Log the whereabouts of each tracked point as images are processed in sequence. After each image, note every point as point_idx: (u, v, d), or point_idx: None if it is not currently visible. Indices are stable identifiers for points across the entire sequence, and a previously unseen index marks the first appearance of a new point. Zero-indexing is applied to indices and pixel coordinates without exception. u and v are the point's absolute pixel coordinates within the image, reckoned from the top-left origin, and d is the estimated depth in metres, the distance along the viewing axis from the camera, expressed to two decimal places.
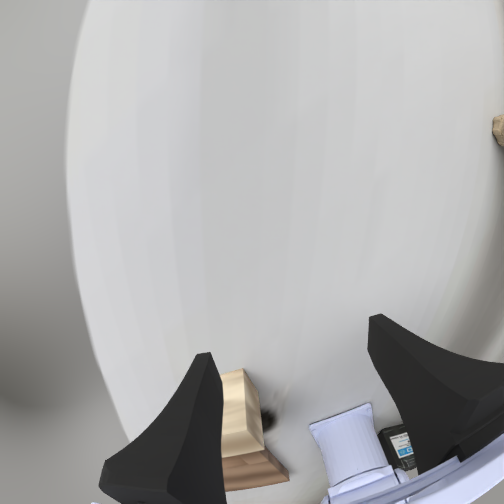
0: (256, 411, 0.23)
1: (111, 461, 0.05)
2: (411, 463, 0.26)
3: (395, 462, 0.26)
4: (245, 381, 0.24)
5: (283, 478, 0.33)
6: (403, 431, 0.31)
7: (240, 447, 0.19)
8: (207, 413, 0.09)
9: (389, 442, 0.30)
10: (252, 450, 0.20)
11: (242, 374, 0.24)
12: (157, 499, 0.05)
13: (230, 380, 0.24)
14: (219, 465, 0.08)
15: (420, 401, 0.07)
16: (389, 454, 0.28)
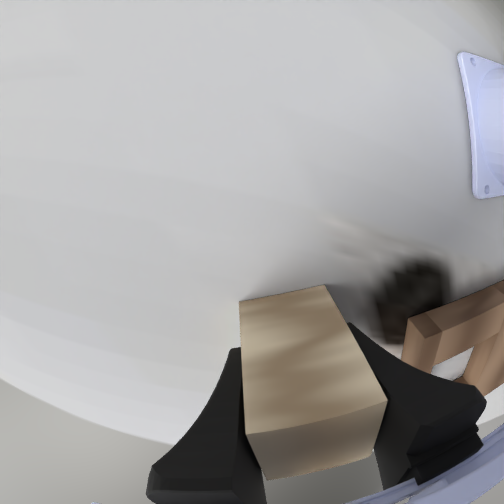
0: (317, 334, 0.10)
1: (159, 466, 0.05)
2: None
3: None
4: (251, 316, 0.12)
5: None
6: None
7: (341, 440, 0.07)
8: None
9: None
10: (373, 421, 0.07)
11: (240, 312, 0.12)
12: (215, 501, 0.05)
13: None
14: None
15: None
16: None
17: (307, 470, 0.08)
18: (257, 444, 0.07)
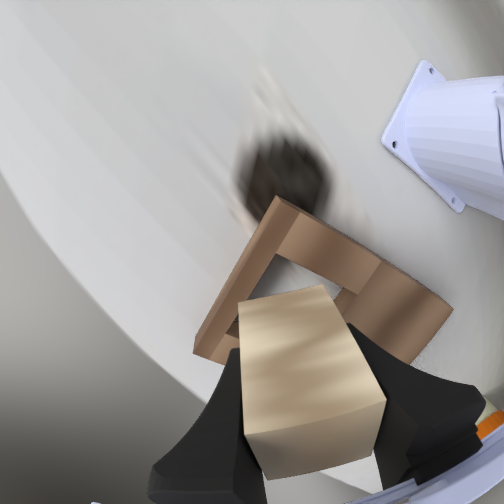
0: (316, 333, 0.10)
1: (160, 466, 0.05)
2: None
3: None
4: (250, 316, 0.12)
5: (441, 307, 0.19)
6: None
7: (340, 440, 0.07)
8: None
9: None
10: (372, 420, 0.07)
11: (239, 313, 0.12)
12: (215, 501, 0.05)
13: None
14: None
15: None
16: None
17: (307, 469, 0.08)
18: (256, 444, 0.07)
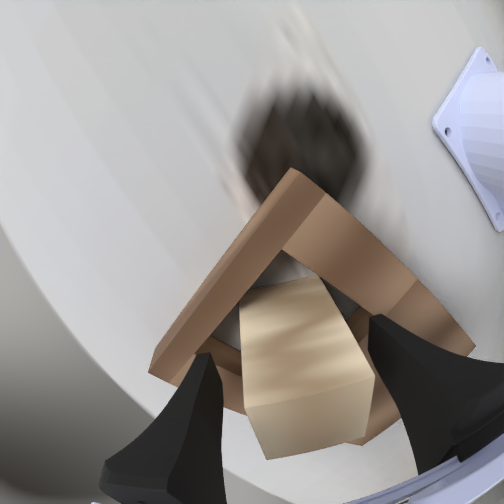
0: (310, 318, 0.11)
1: (111, 461, 0.05)
2: None
3: None
4: (249, 304, 0.13)
5: (465, 342, 0.14)
6: None
7: (334, 417, 0.08)
8: (207, 413, 0.09)
9: None
10: (363, 397, 0.08)
11: (239, 301, 0.13)
12: (157, 499, 0.05)
13: None
14: (219, 465, 0.08)
15: (420, 401, 0.07)
16: None
17: (304, 449, 0.09)
18: (255, 419, 0.08)
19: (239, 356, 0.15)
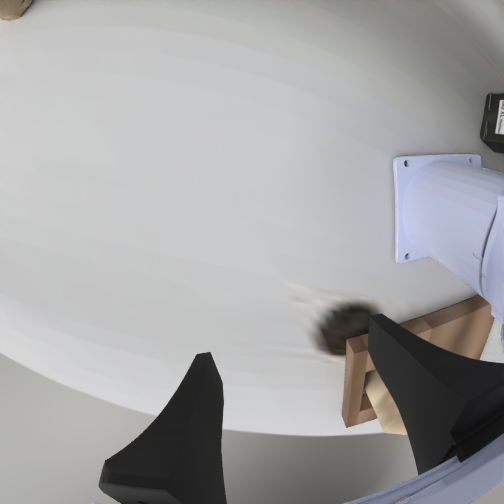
0: None
1: (111, 461, 0.05)
2: None
3: None
4: (367, 384, 0.24)
5: (489, 307, 0.21)
6: (496, 105, 0.14)
7: None
8: (207, 413, 0.09)
9: (501, 138, 0.14)
10: None
11: None
12: (157, 499, 0.05)
13: None
14: (219, 465, 0.08)
15: (420, 401, 0.07)
16: None
17: None
18: (390, 431, 0.19)
19: None
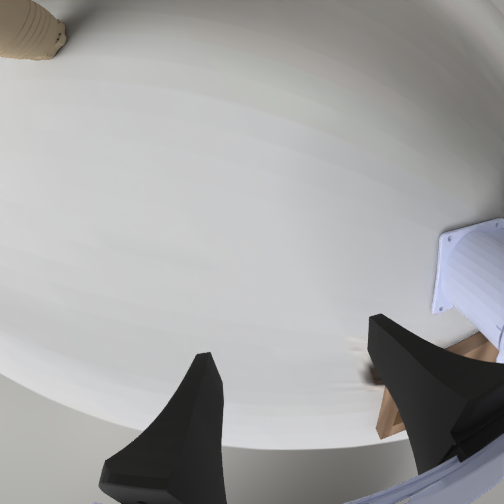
0: None
1: (111, 461, 0.05)
2: None
3: None
4: None
5: None
6: None
7: None
8: (207, 413, 0.09)
9: None
10: None
11: None
12: (157, 499, 0.05)
13: None
14: (219, 465, 0.08)
15: (420, 401, 0.07)
16: None
17: None
18: None
19: None
